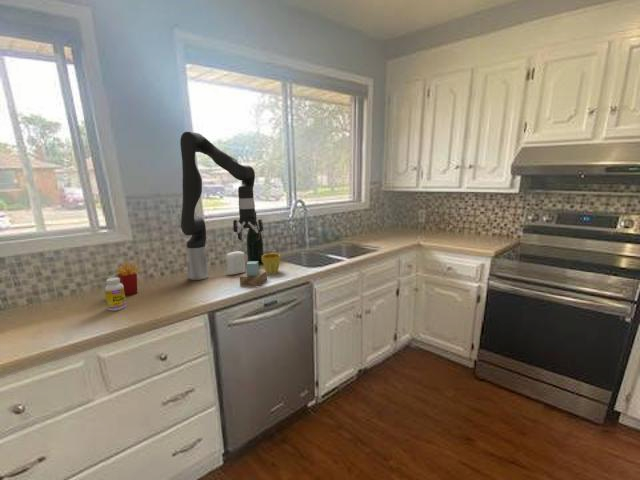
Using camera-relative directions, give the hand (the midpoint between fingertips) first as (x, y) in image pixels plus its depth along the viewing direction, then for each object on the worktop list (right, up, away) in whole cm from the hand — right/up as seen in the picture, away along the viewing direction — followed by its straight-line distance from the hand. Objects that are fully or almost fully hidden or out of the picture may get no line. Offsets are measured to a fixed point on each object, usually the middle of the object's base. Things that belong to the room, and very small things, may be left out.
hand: (249, 240), depth 159 cm
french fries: (-55, -25, -5) cm, 61 cm away
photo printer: (-12, -19, +22) cm, 31 cm away
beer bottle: (-5, -14, +43) cm, 46 cm away
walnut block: (+1, -22, +5) cm, 23 cm away
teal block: (+1, -17, +3) cm, 18 cm away
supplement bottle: (-51, -29, -23) cm, 63 cm away
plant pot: (+8, -18, +21) cm, 29 cm away
